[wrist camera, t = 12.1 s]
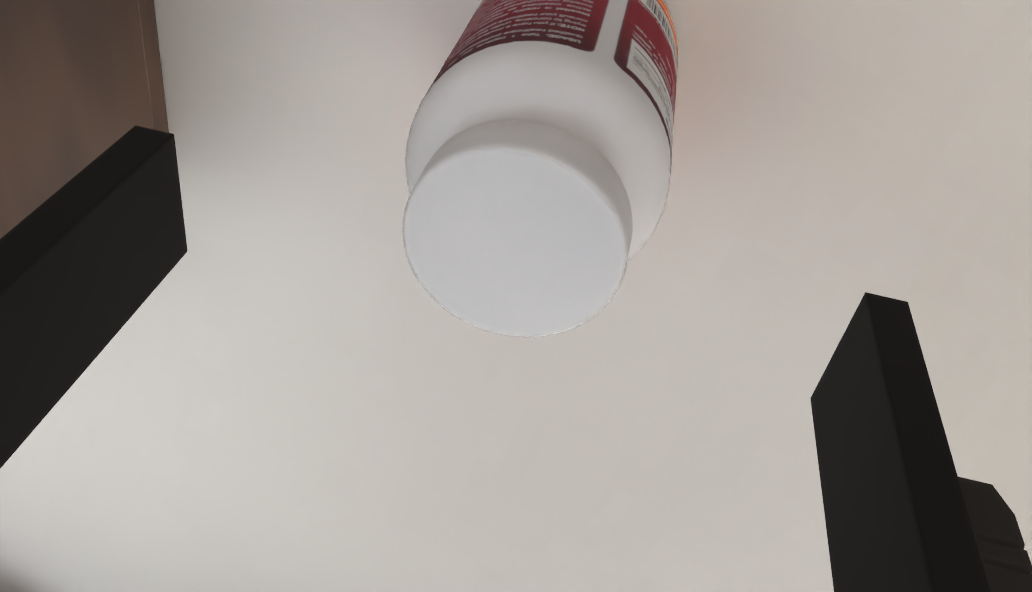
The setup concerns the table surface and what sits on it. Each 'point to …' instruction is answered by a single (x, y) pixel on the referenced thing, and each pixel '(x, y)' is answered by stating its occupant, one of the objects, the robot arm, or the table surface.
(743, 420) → the table surface
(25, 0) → the brown wooden box
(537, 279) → the pill bottle
